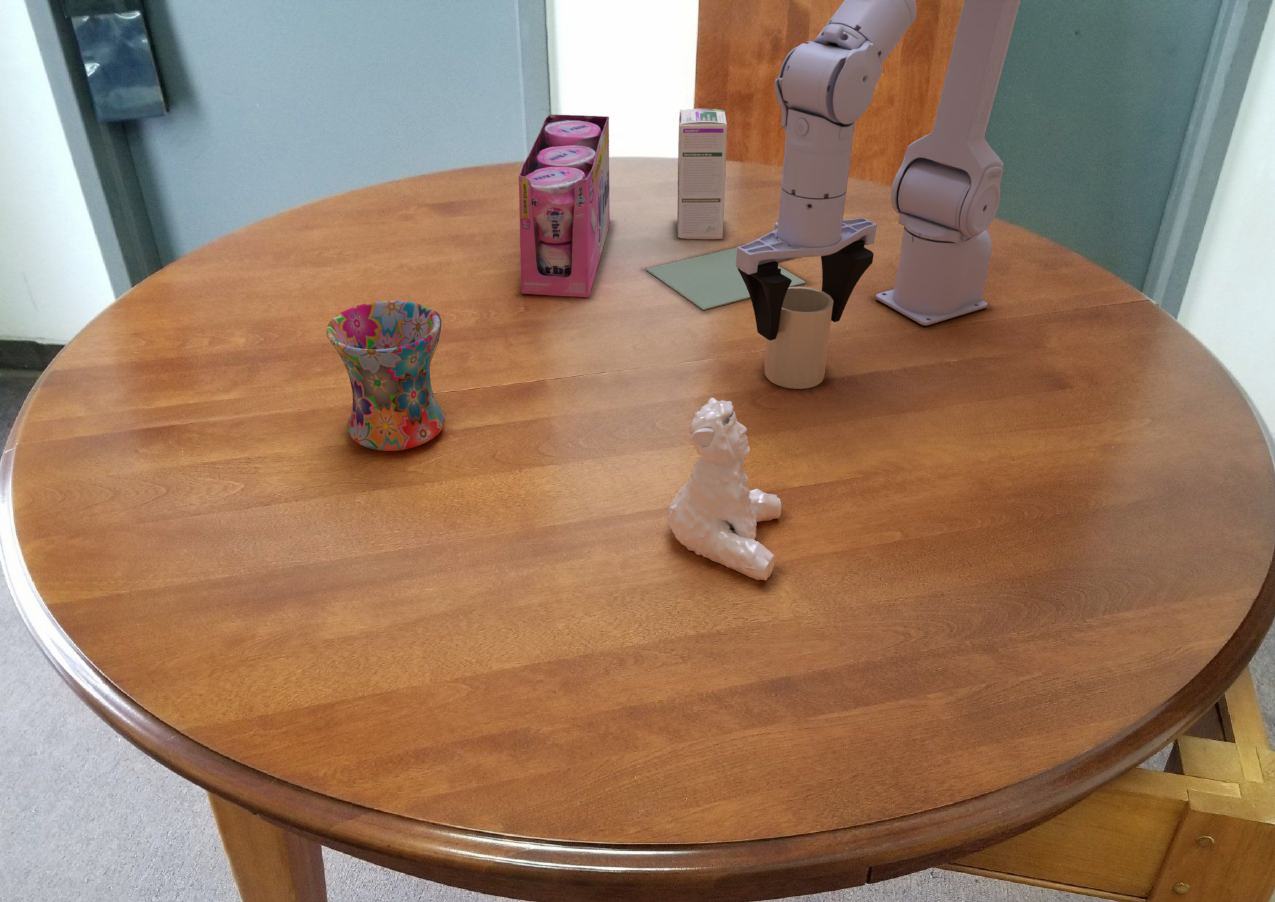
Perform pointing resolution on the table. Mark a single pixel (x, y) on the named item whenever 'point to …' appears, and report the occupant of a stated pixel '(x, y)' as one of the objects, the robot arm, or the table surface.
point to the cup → (800, 339)
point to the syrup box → (701, 173)
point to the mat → (709, 279)
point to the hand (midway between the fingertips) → (798, 326)
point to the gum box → (564, 205)
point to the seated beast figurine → (723, 496)
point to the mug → (389, 372)
